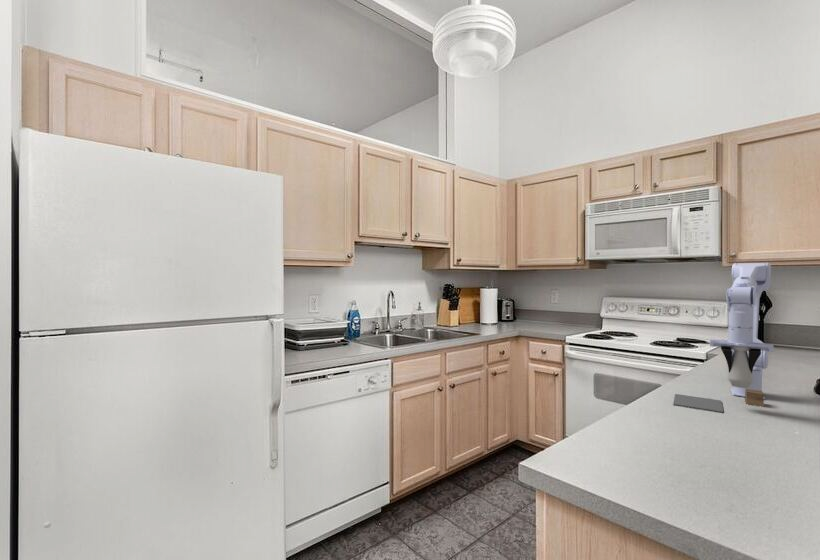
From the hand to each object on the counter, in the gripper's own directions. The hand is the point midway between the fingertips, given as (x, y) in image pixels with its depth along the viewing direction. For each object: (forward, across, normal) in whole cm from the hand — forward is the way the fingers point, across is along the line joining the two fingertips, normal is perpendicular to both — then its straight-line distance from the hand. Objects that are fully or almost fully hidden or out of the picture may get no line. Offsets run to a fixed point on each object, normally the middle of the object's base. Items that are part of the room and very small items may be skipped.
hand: (739, 373), depth 120 cm
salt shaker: (+4, 0, 0) cm, 4 cm away
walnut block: (+10, +4, +8) cm, 14 cm away
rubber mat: (+10, -10, -2) cm, 15 cm away
